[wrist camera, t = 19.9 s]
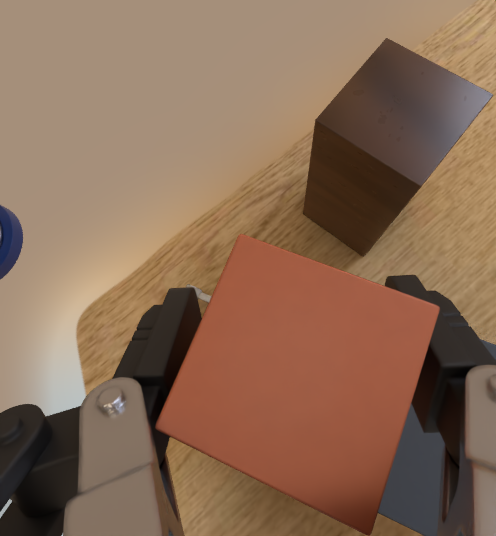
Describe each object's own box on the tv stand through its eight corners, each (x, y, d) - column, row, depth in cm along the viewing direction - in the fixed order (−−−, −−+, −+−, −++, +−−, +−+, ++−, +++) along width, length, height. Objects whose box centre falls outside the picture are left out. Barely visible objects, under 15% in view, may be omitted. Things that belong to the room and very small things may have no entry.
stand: (363, 257, 37) (421, 186, 21) (302, 213, 38) (315, 119, 23) (407, 200, 38) (494, 94, 22) (346, 161, 39) (386, 37, 24)
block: (222, 388, 15) (152, 429, 7) (262, 292, 15) (238, 232, 8) (322, 435, 14) (371, 539, 6) (359, 331, 15) (442, 305, 7)
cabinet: (298, 444, 33) (302, 476, 24) (346, 309, 35) (366, 296, 27) (457, 519, 30) (526, 586, 22) (498, 369, 33) (574, 374, 24)
